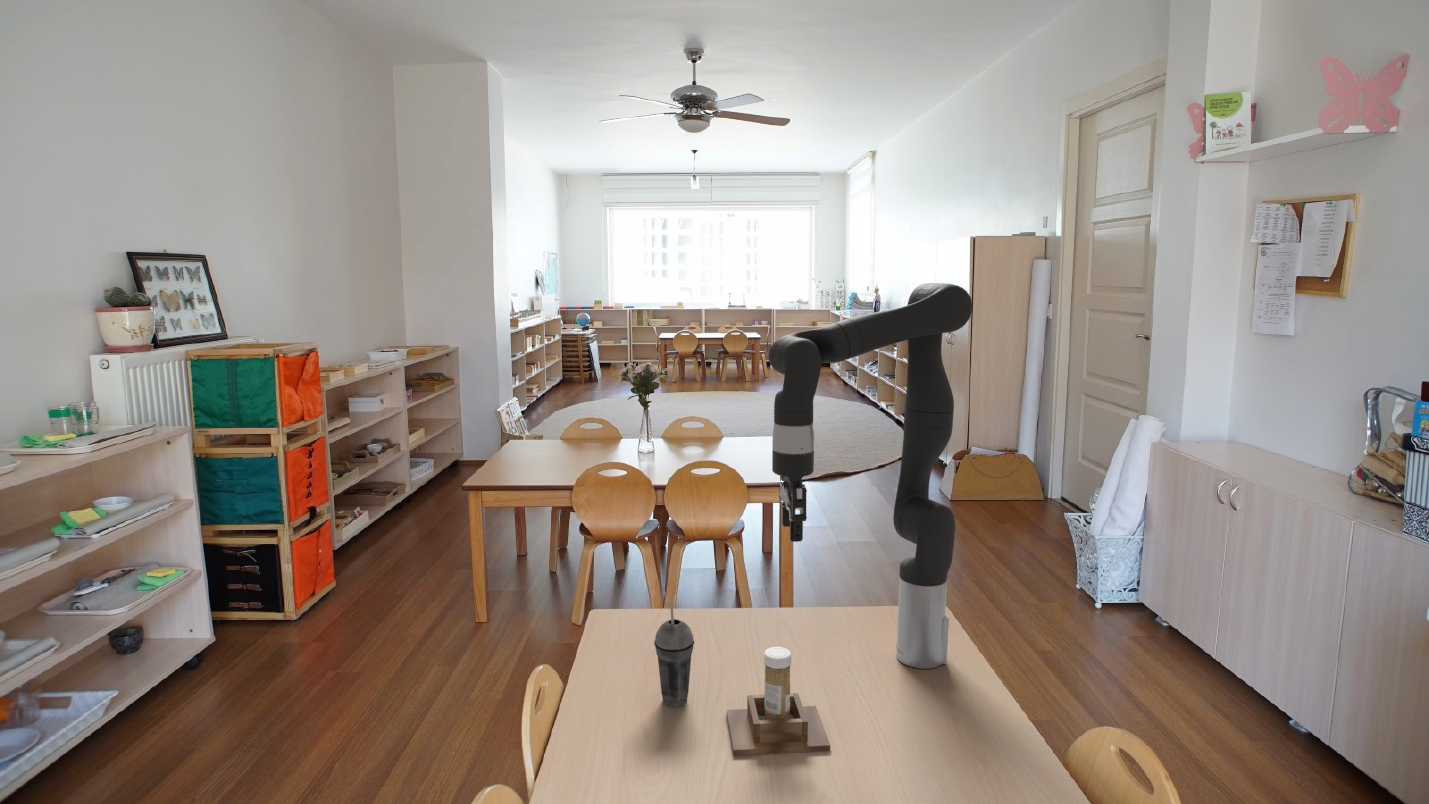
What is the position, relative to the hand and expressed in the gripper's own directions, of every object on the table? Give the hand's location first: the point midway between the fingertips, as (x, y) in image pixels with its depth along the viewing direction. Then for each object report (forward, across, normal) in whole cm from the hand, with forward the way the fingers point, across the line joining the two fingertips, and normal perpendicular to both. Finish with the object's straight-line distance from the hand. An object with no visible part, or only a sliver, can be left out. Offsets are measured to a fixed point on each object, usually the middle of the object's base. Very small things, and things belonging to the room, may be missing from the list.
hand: (792, 533), depth 148 cm
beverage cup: (+30, -4, +22) cm, 38 cm away
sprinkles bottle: (+29, -15, +5) cm, 33 cm away
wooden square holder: (+30, -16, +5) cm, 34 cm away
